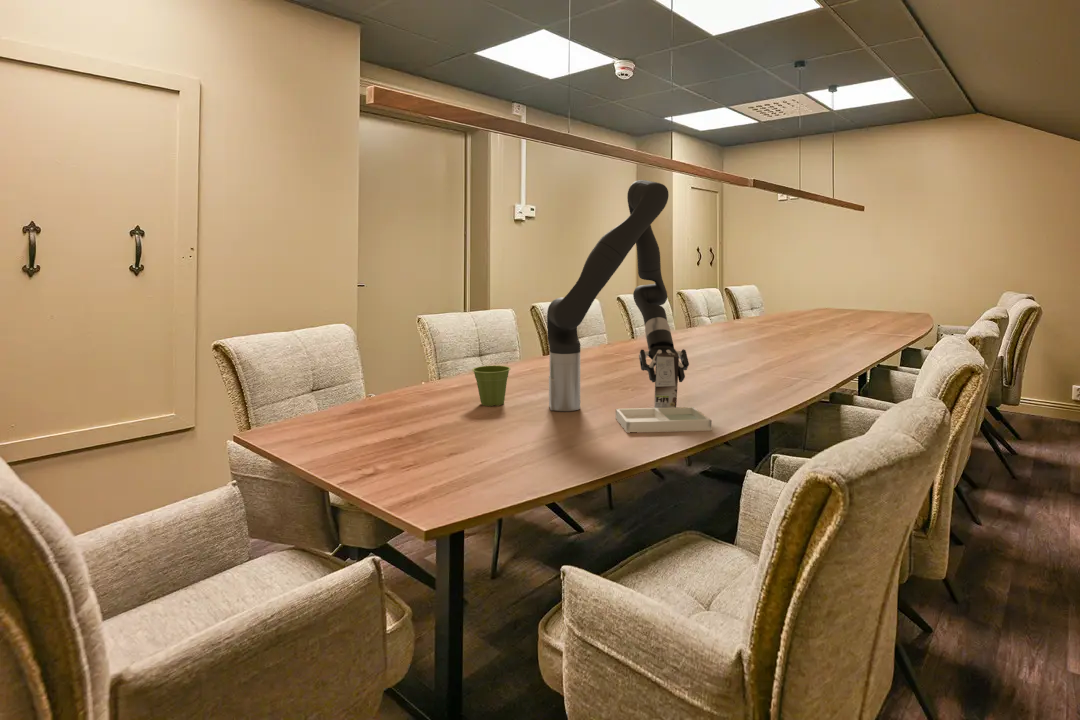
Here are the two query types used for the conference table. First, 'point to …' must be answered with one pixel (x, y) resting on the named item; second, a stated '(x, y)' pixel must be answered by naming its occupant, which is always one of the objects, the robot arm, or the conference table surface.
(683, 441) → the conference table surface
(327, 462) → the conference table surface
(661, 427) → the tray
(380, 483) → the conference table surface
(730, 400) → the conference table surface
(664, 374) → the coffee box
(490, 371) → the plant pot
